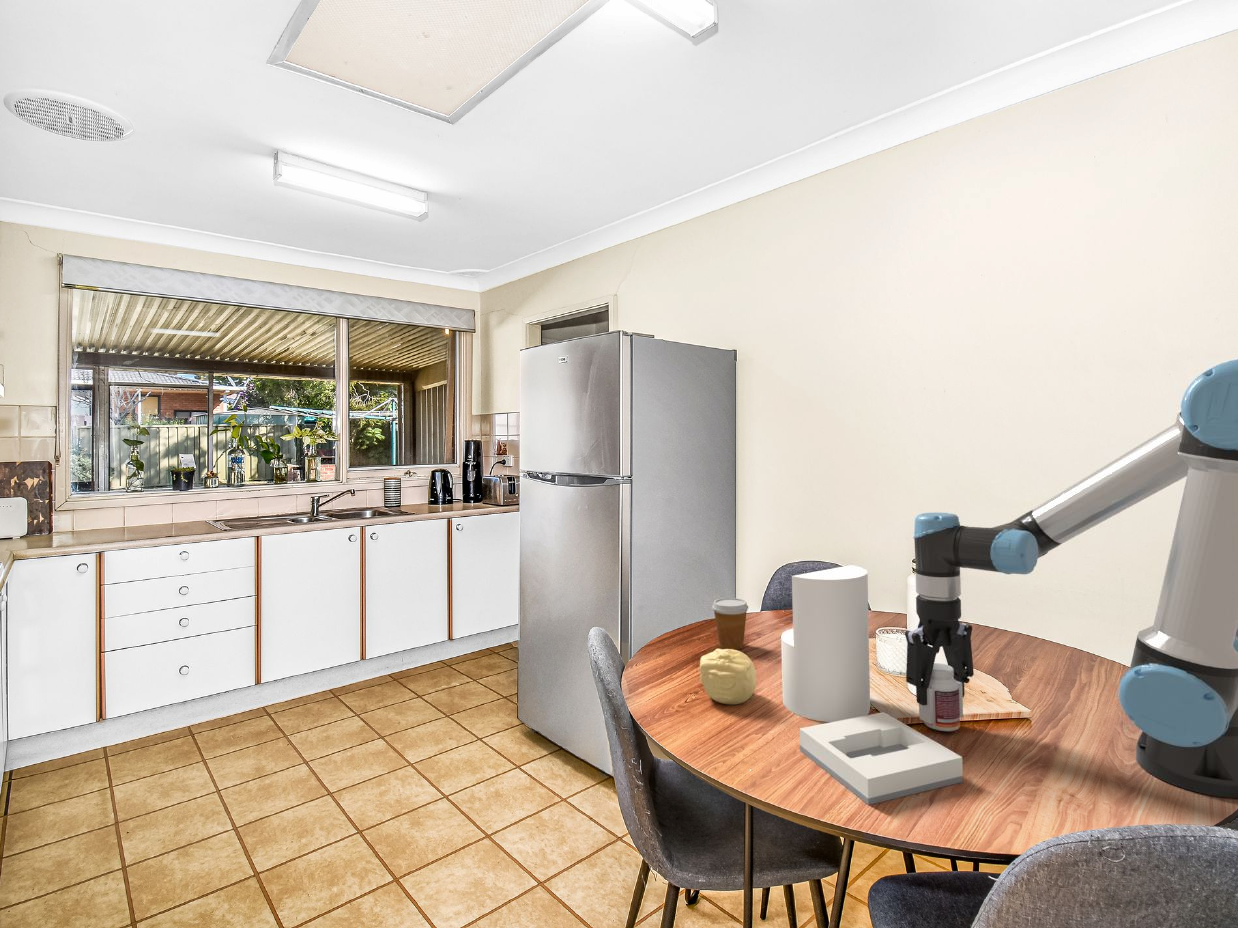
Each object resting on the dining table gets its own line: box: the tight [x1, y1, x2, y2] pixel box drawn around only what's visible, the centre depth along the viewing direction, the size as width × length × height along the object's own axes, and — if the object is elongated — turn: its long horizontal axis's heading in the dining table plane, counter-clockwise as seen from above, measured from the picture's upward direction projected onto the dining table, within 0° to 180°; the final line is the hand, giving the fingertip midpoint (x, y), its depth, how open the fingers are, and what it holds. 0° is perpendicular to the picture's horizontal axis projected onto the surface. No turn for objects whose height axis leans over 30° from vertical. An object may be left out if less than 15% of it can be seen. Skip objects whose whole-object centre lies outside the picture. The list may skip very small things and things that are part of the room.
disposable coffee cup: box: [712, 597, 749, 651], centre depth 170 cm, size 10×10×12 cm
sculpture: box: [699, 648, 758, 705], centre depth 137 cm, size 12×12×11 cm
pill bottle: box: [922, 662, 961, 732], centre depth 120 cm, size 6×6×11 cm
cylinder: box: [780, 564, 871, 723], centre depth 132 cm, size 17×17×28 cm
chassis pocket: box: [799, 711, 964, 806], centre depth 107 cm, size 18×18×4 cm
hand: (941, 717), depth 120 cm, fingers closed on pill bottle, 6 cm apart
